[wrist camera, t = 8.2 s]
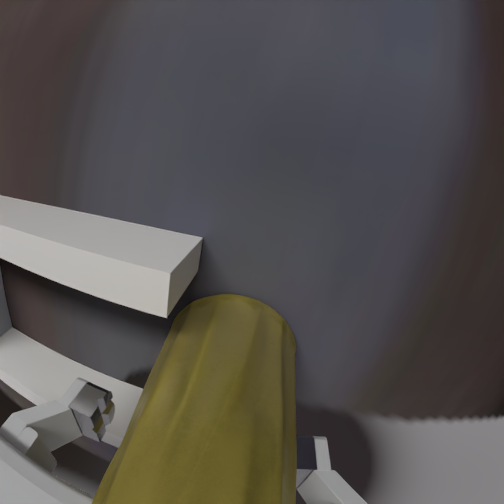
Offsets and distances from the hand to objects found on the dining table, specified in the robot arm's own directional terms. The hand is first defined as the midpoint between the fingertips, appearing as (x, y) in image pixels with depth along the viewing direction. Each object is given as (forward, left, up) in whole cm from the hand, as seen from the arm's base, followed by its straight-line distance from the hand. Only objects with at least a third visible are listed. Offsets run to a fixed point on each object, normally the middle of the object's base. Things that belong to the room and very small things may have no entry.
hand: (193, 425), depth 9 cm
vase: (-1, -1, -5) cm, 5 cm away
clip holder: (+9, 0, -5) cm, 10 cm away
